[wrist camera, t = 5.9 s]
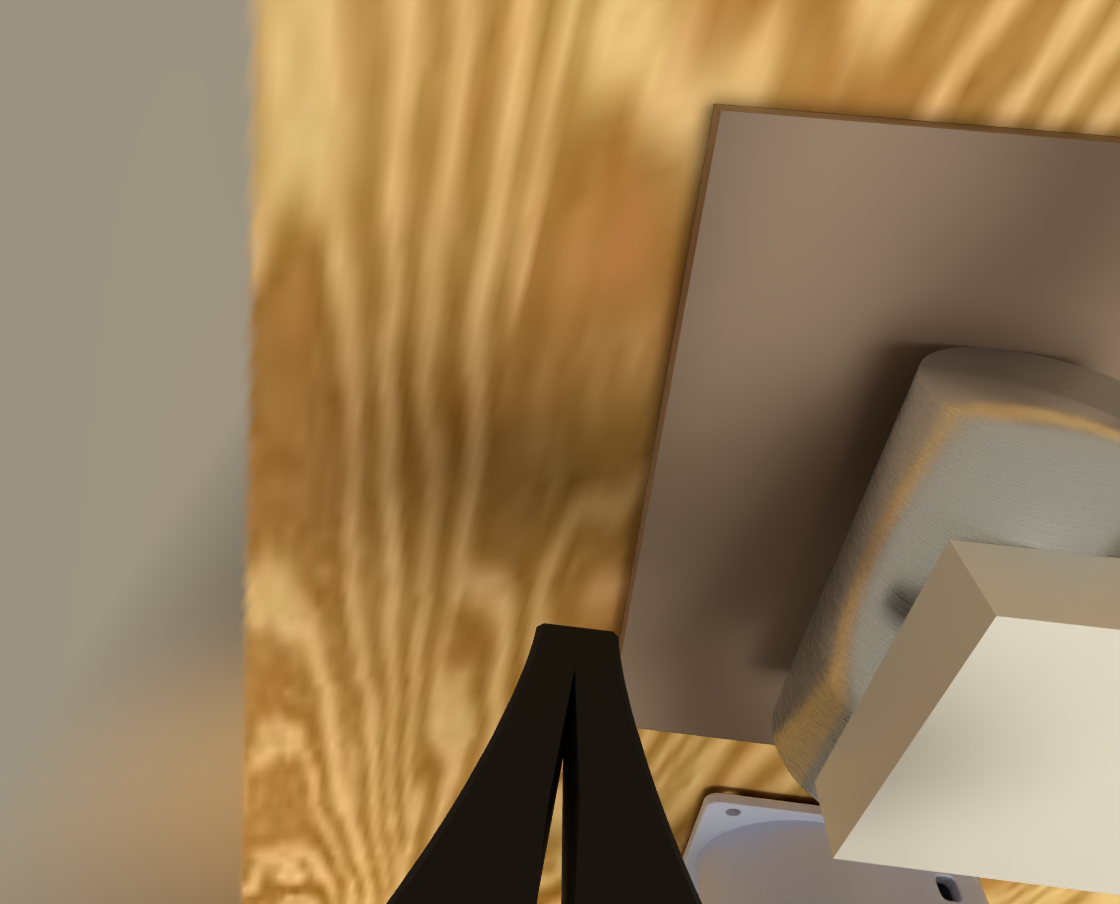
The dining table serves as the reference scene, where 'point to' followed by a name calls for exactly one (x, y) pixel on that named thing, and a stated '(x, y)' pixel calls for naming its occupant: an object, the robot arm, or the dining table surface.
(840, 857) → the slab
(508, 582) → the dining table surface
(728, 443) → the board
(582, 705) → the robot arm
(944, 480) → the roller
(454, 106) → the dining table surface
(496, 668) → the dining table surface
